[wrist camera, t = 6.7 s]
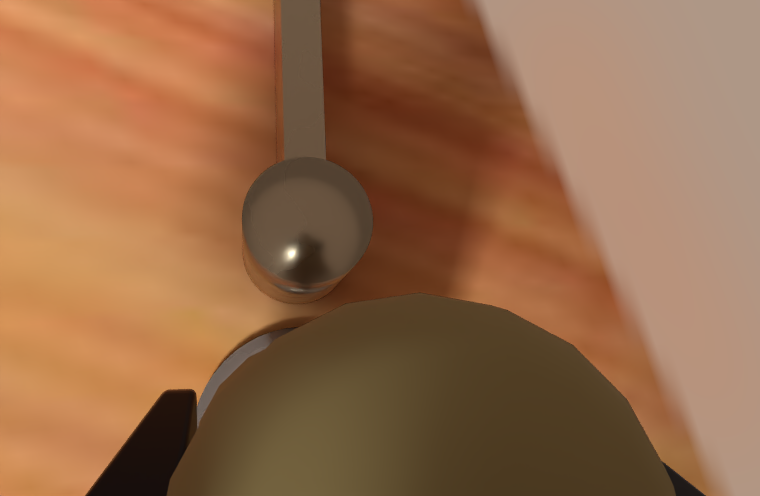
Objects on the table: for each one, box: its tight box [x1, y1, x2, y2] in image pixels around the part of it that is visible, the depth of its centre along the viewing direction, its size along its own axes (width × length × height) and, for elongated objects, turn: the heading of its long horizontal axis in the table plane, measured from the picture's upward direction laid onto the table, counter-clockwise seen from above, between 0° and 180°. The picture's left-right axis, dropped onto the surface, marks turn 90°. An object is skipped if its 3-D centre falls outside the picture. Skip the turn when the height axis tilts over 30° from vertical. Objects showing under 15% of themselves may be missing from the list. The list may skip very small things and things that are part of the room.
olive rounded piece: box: [167, 293, 676, 496], centre depth 10 cm, size 6×6×11 cm
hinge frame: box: [197, 0, 373, 429], centre depth 18 cm, size 34×7×4 cm, turn 3°
